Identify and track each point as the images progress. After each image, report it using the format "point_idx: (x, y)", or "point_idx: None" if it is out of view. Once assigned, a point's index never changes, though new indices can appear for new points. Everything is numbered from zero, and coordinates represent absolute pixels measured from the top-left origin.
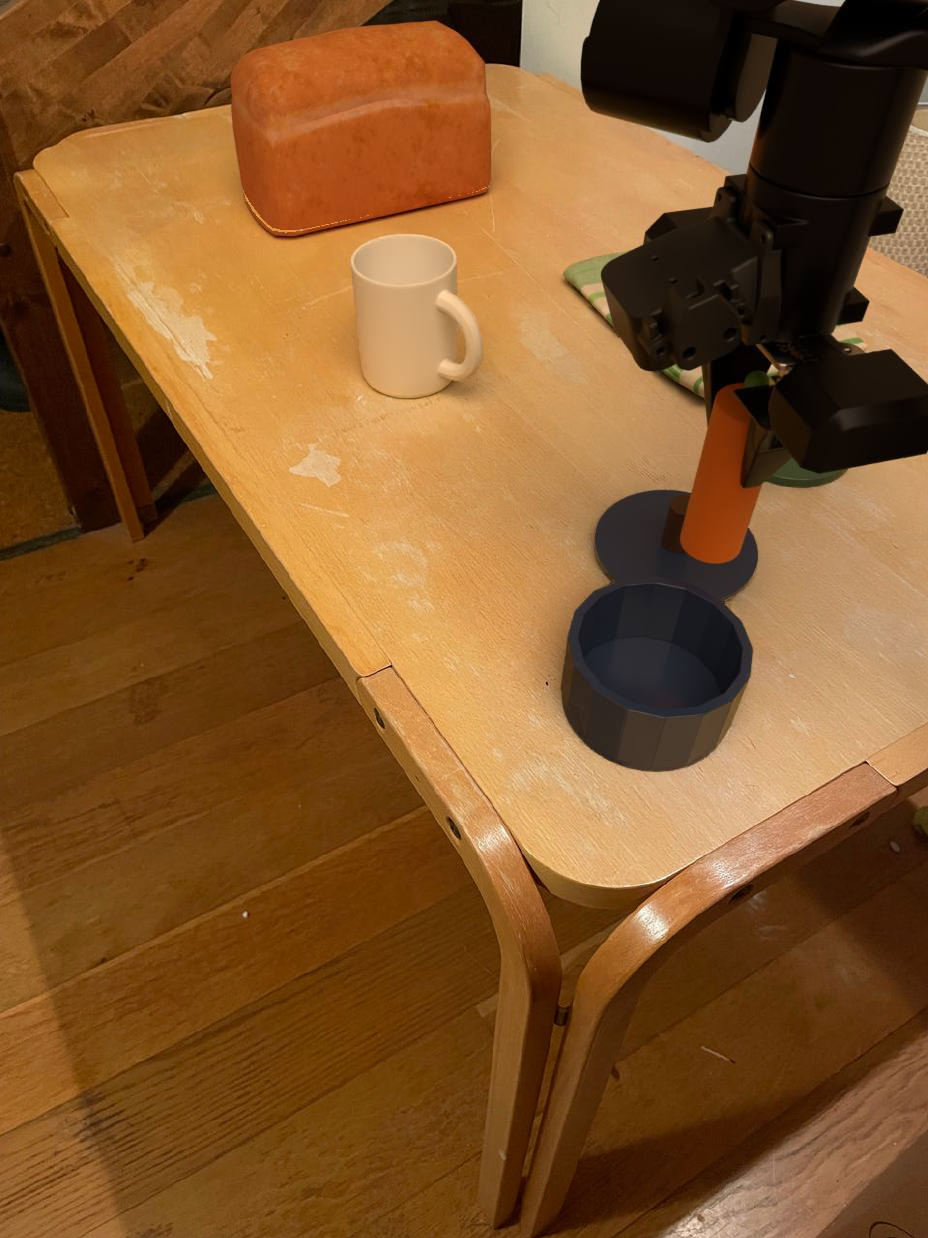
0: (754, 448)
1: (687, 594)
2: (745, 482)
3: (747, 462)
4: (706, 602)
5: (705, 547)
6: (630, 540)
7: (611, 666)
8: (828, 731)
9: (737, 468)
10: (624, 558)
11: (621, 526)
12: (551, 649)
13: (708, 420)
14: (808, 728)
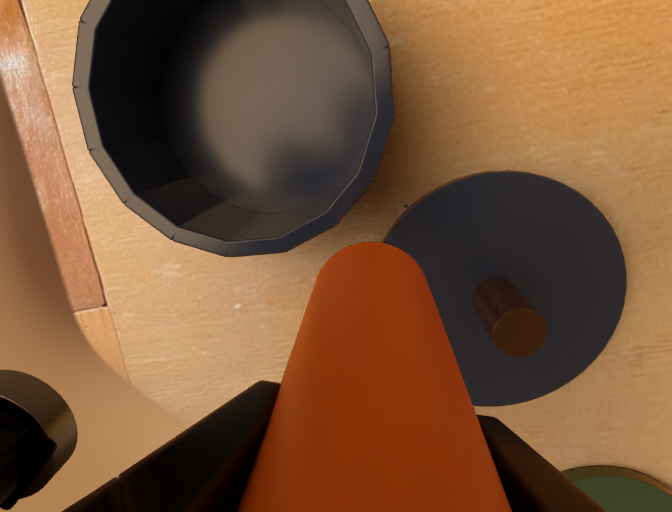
0: (125, 489)
1: (319, 213)
2: (246, 391)
3: (214, 432)
4: (288, 230)
5: (330, 265)
6: (534, 238)
7: (329, 84)
8: (152, 294)
9: (279, 400)
10: (505, 209)
11: (570, 241)
12: (405, 15)
13: (528, 457)
14: (163, 277)
